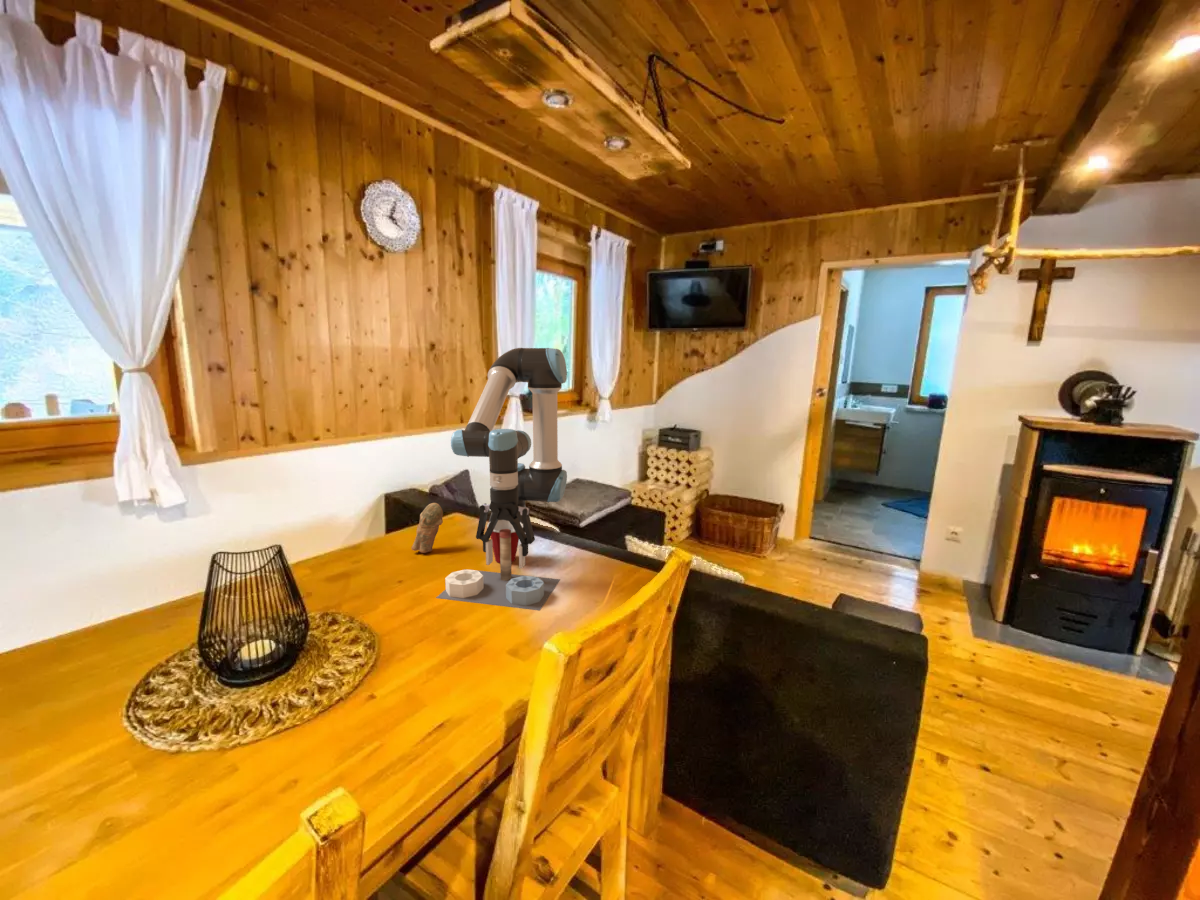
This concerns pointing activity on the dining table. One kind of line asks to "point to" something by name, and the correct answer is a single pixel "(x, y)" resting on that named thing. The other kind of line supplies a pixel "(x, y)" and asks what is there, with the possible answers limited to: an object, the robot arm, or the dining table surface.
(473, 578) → the bead white
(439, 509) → the figurine
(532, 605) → the felt mat
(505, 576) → the dowel
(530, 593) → the bead blue
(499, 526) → the plastic cup
